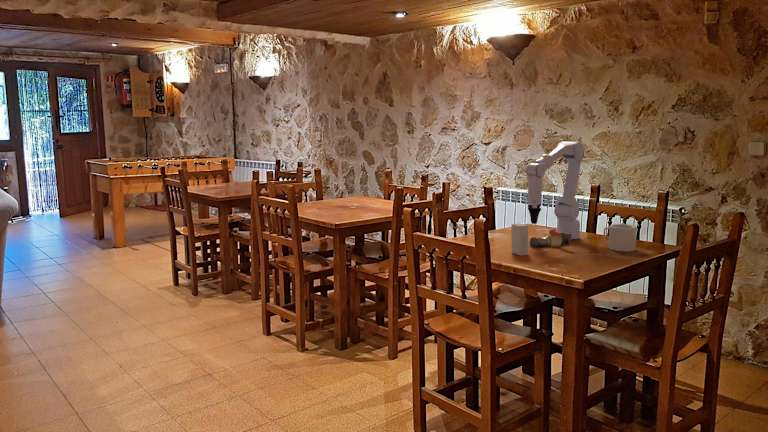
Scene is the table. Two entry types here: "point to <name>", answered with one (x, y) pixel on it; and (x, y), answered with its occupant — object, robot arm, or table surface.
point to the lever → (560, 233)
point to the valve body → (553, 240)
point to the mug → (621, 237)
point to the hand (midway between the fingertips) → (533, 222)
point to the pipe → (545, 241)
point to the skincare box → (519, 239)
